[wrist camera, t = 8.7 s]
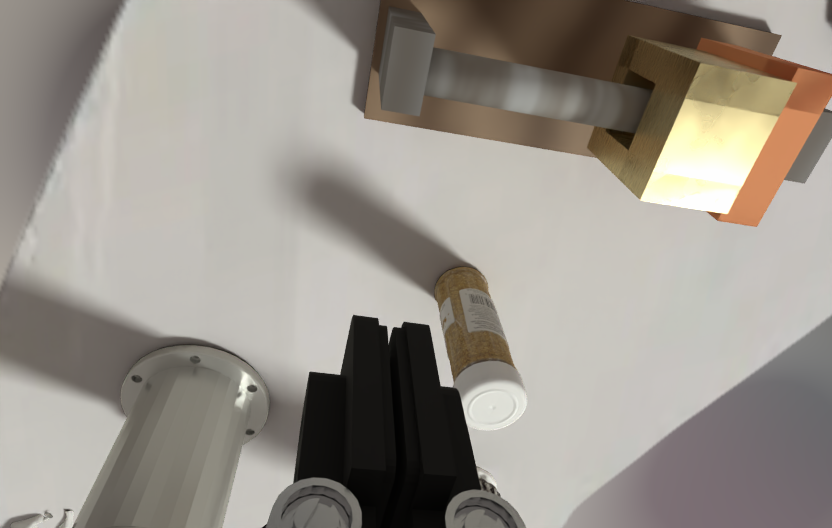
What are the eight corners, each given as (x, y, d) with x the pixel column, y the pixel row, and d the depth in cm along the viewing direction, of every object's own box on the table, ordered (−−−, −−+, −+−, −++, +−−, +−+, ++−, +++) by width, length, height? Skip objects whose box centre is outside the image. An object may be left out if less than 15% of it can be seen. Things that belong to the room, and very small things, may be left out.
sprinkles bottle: (422, 288, 45) (441, 409, 33) (464, 254, 43) (499, 369, 32) (457, 319, 47) (487, 443, 35) (499, 287, 45) (543, 407, 34)
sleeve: (657, 160, 35) (727, 213, 28) (586, 147, 34) (640, 200, 28) (705, 51, 32) (797, 82, 25) (627, 34, 31) (700, 62, 24)
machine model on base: (772, 33, 36) (886, 61, 28) (704, 172, 41) (784, 229, 33) (388, -53, 32) (395, -49, 24) (364, 114, 37) (362, 163, 29)
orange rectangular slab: (679, 168, 37) (756, 226, 29) (647, 163, 36) (717, 220, 29) (736, 45, 33) (842, 77, 26) (701, 37, 32) (798, 67, 25)
